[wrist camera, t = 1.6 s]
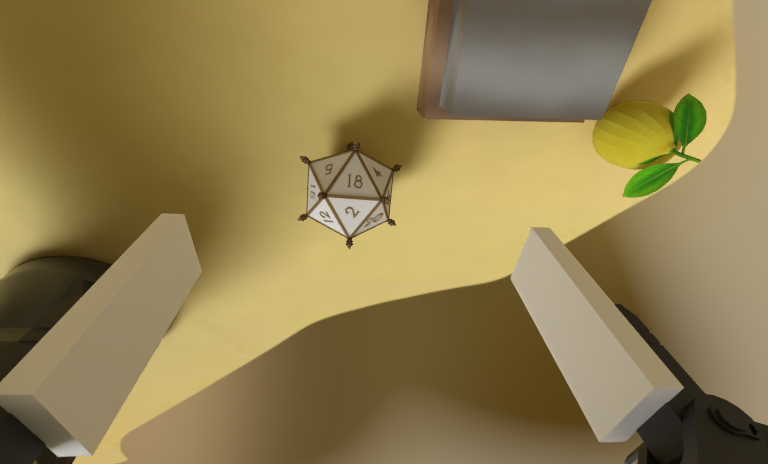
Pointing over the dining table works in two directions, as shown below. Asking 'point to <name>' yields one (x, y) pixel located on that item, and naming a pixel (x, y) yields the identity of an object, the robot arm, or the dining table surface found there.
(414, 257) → the dining table surface
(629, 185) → the lemon
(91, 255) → the dining table surface
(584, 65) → the tower base
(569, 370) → the robot arm
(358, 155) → the game die
